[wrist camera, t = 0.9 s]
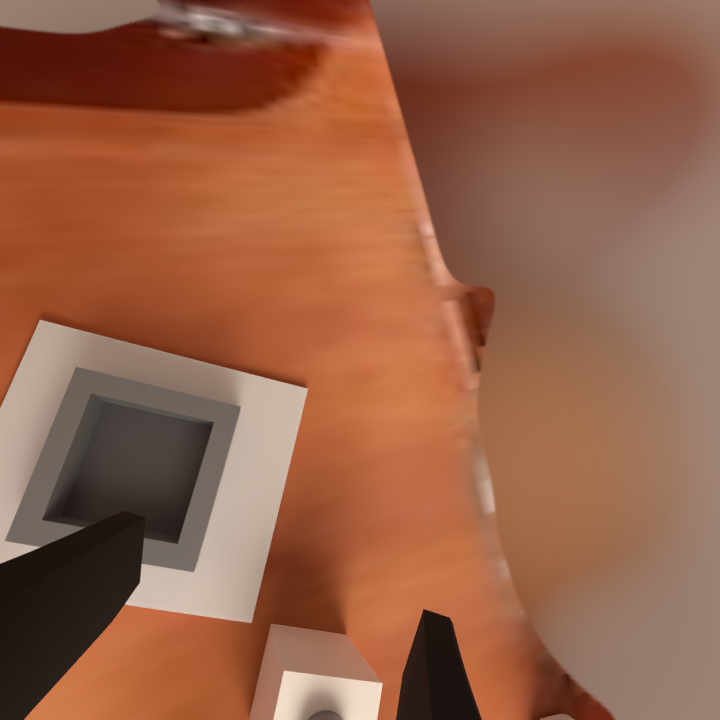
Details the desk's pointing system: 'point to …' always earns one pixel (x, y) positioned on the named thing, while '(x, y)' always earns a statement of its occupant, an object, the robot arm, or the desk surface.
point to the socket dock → (148, 463)
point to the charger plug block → (314, 678)
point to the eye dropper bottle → (558, 717)
